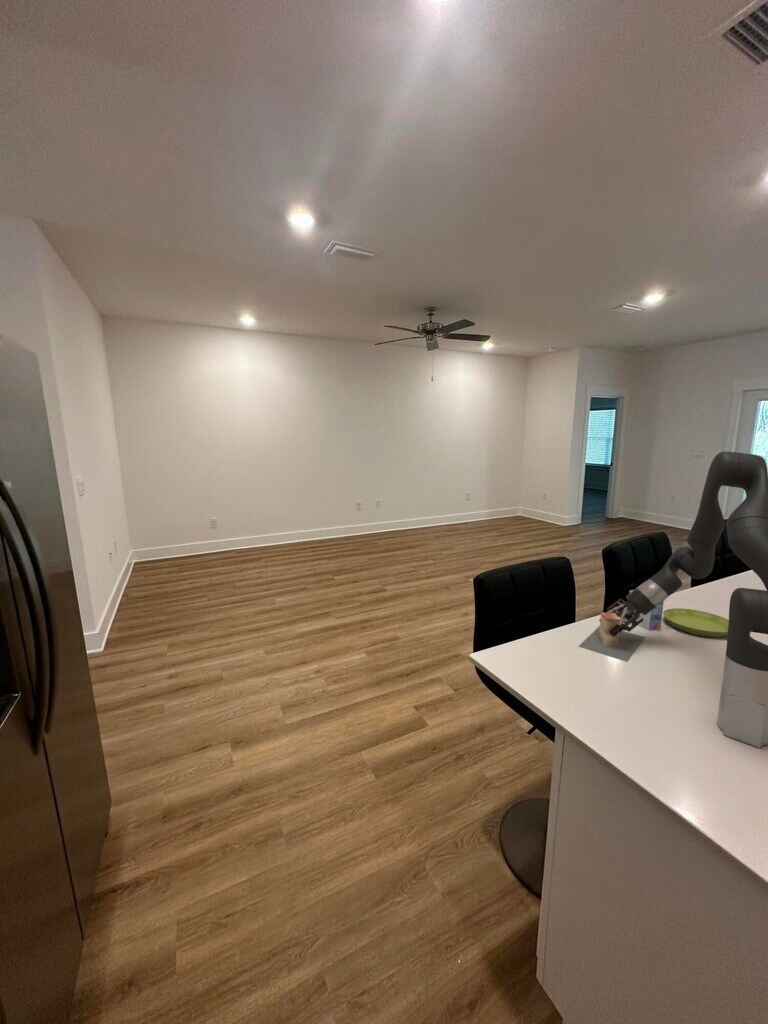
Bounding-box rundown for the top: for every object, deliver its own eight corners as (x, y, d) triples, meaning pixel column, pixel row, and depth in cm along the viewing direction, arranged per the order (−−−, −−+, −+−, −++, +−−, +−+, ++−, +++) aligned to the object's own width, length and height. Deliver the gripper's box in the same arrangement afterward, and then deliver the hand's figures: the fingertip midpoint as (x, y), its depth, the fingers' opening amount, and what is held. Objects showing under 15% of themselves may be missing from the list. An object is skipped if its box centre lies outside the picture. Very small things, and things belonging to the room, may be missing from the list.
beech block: (612, 638, 137) (614, 613, 135) (617, 645, 132) (620, 619, 130) (599, 637, 137) (601, 612, 136) (604, 644, 132) (606, 618, 131)
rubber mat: (627, 663, 122) (627, 661, 122) (578, 648, 132) (578, 646, 132) (645, 638, 138) (645, 637, 137) (600, 626, 147) (600, 624, 147)
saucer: (751, 640, 136) (752, 631, 136) (689, 641, 136) (690, 632, 135) (703, 615, 156) (704, 607, 156) (649, 616, 156) (650, 608, 156)
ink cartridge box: (661, 630, 143) (665, 591, 141) (649, 632, 142) (653, 592, 140) (637, 619, 153) (641, 582, 151) (625, 621, 151) (628, 583, 149)
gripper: (629, 581, 137) (590, 611, 141) (649, 596, 123) (605, 629, 127) (645, 597, 137) (605, 627, 141) (666, 614, 123) (622, 647, 127)
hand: (605, 628), depth 134 cm, fingers open, 8 cm apart
